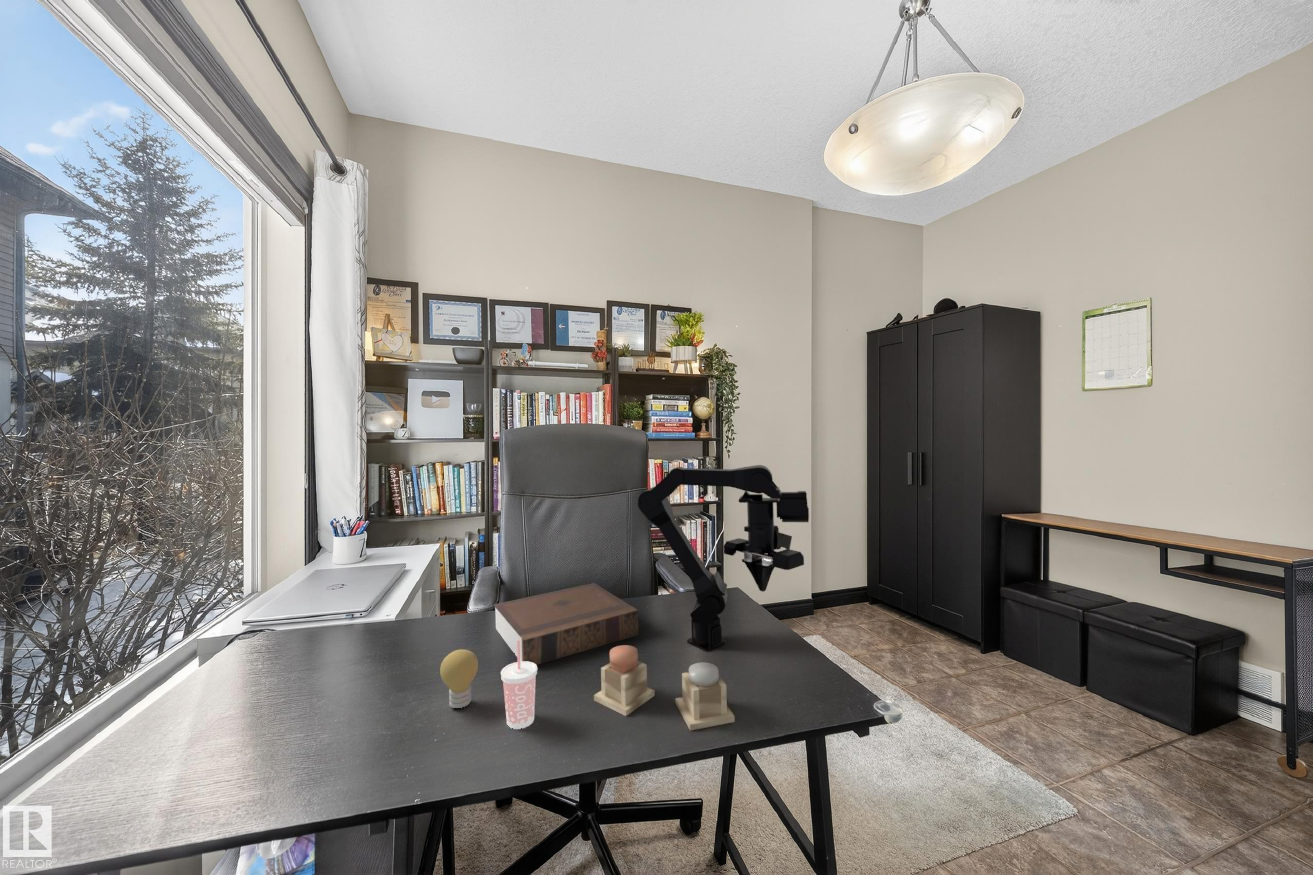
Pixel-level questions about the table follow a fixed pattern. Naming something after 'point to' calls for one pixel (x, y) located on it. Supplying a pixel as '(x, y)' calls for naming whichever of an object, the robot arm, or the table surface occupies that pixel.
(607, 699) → the cream square holder
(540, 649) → the book
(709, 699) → the beige square socket
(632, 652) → the terracotta plunger
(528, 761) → the table surface
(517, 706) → the beverage cup
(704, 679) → the light grey rounded piece
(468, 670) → the light bulb
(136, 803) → the table surface
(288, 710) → the table surface
